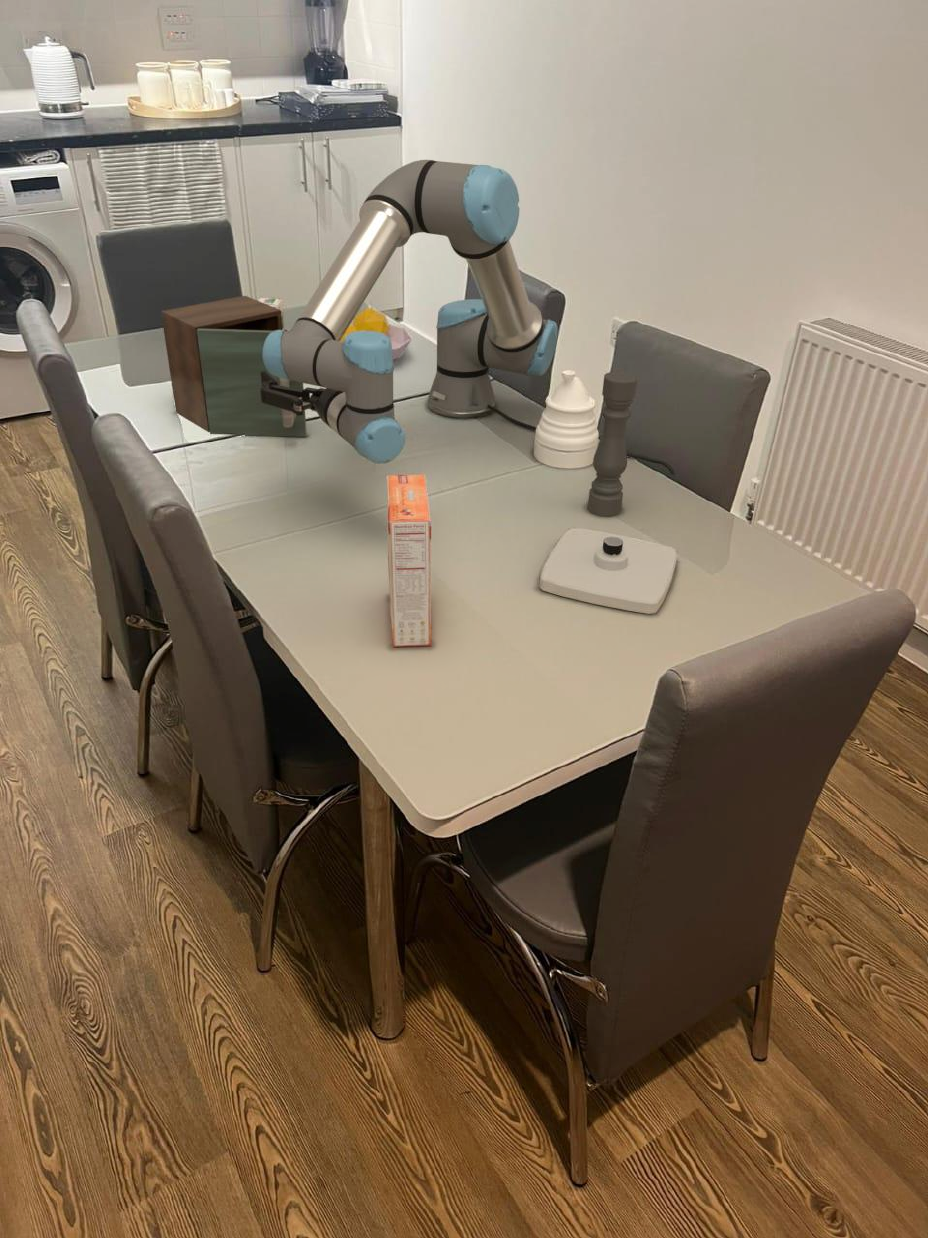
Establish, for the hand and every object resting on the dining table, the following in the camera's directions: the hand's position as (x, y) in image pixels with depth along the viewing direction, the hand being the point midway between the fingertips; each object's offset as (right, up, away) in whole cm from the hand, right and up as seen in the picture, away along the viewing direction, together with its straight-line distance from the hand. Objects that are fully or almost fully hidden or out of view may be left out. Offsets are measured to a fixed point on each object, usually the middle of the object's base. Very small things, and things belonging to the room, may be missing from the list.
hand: (298, 372), depth 173 cm
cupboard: (-20, 0, +33) cm, 39 cm away
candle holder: (+57, -25, -1) cm, 62 cm away
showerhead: (+55, -39, -20) cm, 70 cm away
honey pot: (+51, -12, +19) cm, 56 cm away
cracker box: (+23, -46, -33) cm, 61 cm away
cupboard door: (-12, -9, +20) cm, 25 cm away
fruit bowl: (+3, +21, +65) cm, 69 cm away
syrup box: (-17, +20, +63) cm, 68 cm away
